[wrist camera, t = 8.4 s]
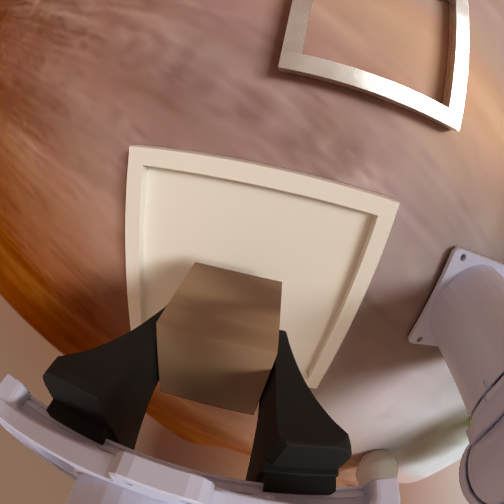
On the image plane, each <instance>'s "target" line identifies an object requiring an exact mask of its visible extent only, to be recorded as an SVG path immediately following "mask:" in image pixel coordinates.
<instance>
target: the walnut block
mask: <svg viewBox="0 0 504 504" xmlns="http://www.w3.org/2000/svg"><path fill="white" fill-rule="evenodd" d="M281 295H282V282H280V281H276V280H271V279H267V278H262V277H258V276H253V275H249V274H245V273H240V272H236V271H232V270H227V269H223V268H219V267H214V266H210V265H206V264H202V263H198V262H195V263H194V265H193V266H192V268H191V269H190V271H189V272H188V274H187V275H186V277H185V278H184V280H183V281H182V283H181V284H180V286H179V287H178V289H177V291H176V292H175V294H174V295H173V297H172V298H171V300H170V302H169V303H168V305H167V306H166V308H165V309H164V311H163V313H162V314H161V316H160V317H159V319H158V321H157V322H156V328H157V352H158V368H159V382H160V391H162V392H165V393H168V394H172V395H175V396H178V397H181V398H185V399H188V400H192V401H195V402H199V403H203V404H207V405H211V406H215V407H219V408H223V409H227V410H232V411H237V412H241V413H246V414H252V415H254V412H255V410H256V407H257V405H258V402H259V400H260V397H261V395H262V392H263V390H264V387H265V385H266V382H267V380H268V377H269V374H270V372H271V369H272V366H273V364H274V361H275V358H276V356H277V353H278V340H279V326H280V311H281Z"/></svg>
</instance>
